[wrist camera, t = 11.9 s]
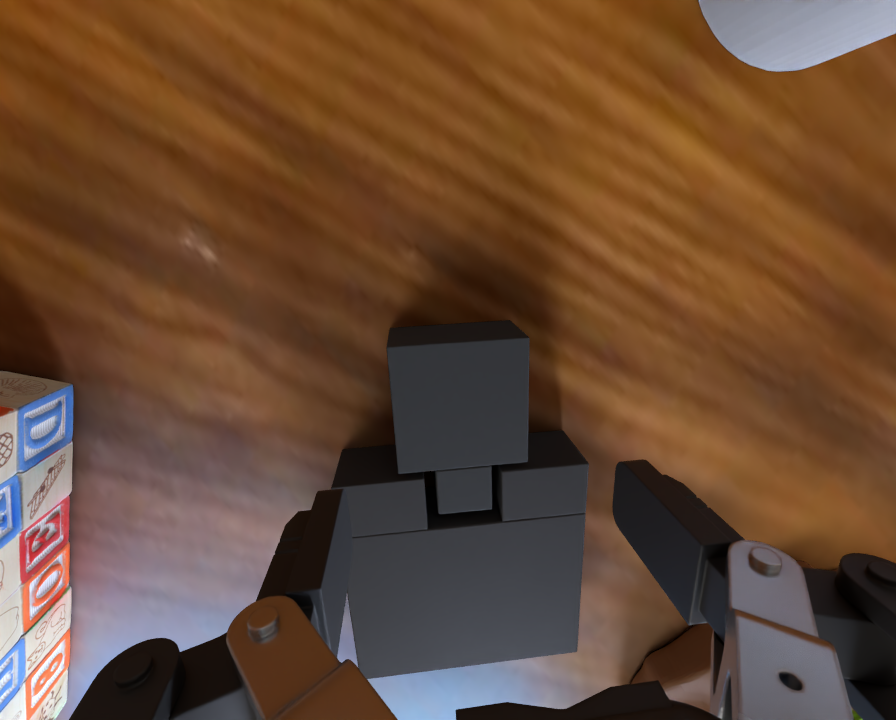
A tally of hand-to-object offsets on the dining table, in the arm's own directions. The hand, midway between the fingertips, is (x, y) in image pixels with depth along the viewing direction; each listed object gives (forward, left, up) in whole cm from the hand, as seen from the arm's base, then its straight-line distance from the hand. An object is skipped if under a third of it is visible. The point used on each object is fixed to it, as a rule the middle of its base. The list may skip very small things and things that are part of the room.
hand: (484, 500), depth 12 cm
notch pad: (0, -9, -10) cm, 14 cm away
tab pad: (0, -1, -10) cm, 10 cm away
